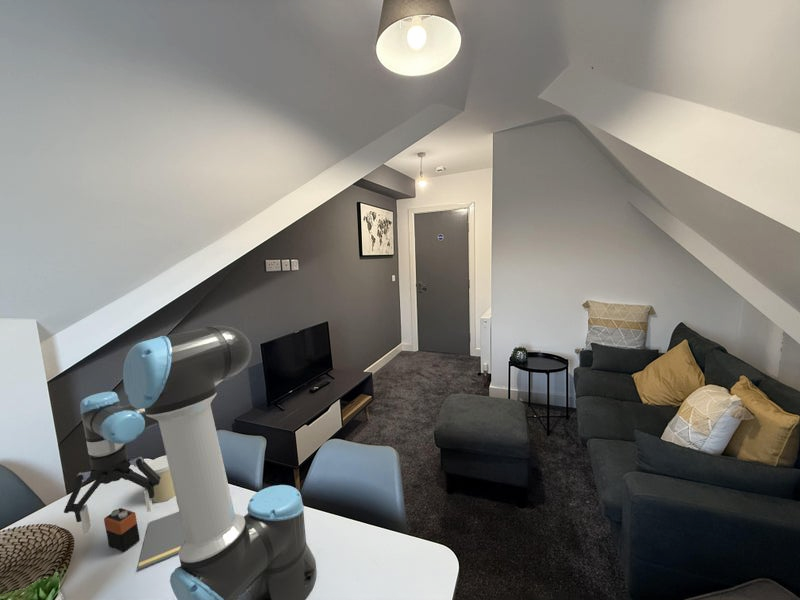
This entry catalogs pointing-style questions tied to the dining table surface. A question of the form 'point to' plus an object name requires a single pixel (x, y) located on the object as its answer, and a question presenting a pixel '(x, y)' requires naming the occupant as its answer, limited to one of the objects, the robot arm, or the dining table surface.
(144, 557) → the book
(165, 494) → the coffee cup
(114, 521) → the battery
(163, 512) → the dining table surface
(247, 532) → the robot arm
